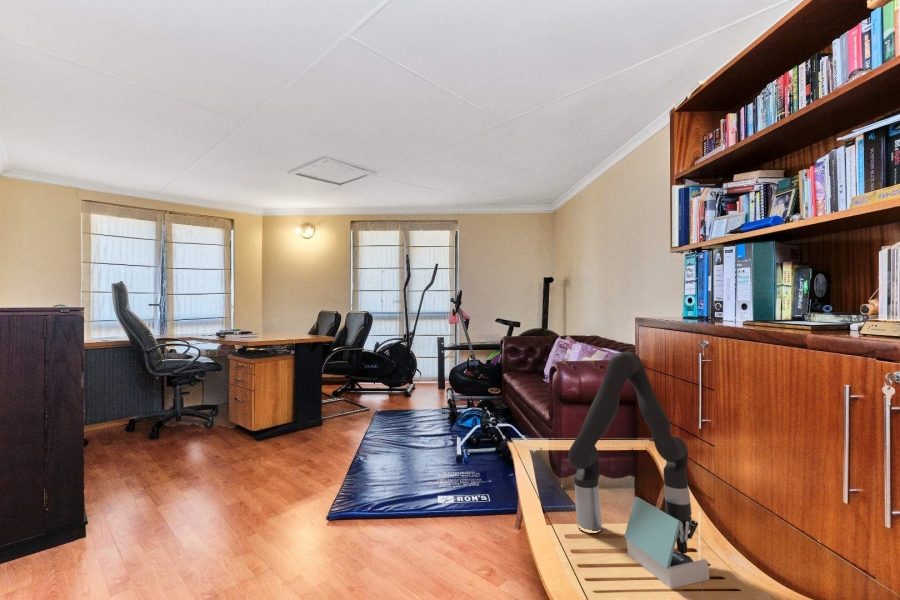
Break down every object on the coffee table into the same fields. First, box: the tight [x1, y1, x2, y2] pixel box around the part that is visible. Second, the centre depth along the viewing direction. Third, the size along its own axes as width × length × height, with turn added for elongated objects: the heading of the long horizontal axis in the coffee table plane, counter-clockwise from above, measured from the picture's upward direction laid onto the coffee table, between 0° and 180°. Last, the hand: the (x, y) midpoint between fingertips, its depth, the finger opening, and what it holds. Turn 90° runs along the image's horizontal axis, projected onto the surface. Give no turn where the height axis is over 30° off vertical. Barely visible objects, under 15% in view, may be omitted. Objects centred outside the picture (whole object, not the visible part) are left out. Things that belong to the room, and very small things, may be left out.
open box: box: [626, 539, 710, 589], centre depth 130 cm, size 20×14×6 cm
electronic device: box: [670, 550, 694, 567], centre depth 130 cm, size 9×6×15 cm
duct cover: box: [624, 496, 681, 569], centre depth 130 cm, size 20×14×1 cm
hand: (682, 552), depth 132 cm, fingers closed
